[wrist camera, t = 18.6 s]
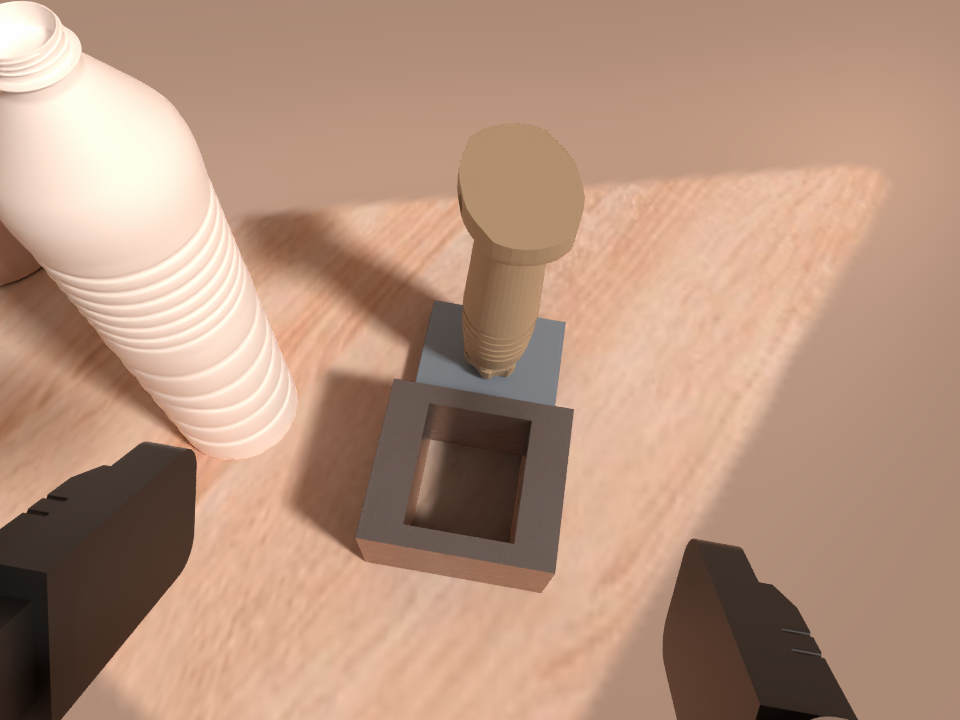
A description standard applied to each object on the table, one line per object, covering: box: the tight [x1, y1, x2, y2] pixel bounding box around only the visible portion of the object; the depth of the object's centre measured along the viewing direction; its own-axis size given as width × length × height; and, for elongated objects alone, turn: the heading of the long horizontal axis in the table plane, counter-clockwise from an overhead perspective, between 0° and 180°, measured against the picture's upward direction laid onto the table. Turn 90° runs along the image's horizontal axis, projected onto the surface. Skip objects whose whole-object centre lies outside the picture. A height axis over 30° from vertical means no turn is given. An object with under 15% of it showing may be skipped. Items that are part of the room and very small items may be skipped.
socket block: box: [355, 379, 574, 593], centre depth 37 cm, size 9×8×5 cm
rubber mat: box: [416, 300, 566, 406], centre depth 43 cm, size 8×6×1 cm
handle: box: [457, 124, 585, 379], centre depth 36 cm, size 5×6×15 cm
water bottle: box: [0, 1, 298, 460], centre depth 31 cm, size 9×6×25 cm
